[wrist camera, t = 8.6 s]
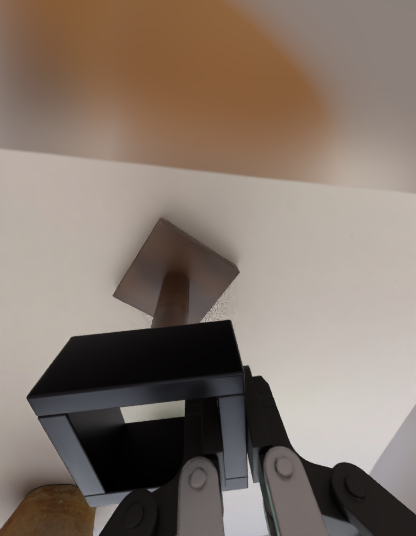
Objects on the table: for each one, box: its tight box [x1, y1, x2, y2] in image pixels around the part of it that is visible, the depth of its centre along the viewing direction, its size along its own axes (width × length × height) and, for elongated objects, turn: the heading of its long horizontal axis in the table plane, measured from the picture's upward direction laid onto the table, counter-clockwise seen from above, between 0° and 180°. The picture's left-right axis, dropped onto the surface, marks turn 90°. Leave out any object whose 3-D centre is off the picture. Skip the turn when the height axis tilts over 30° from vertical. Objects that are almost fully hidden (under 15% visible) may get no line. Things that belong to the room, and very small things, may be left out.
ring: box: [27, 320, 248, 507], centre depth 10 cm, size 7×7×3 cm
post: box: [113, 217, 240, 328], centre depth 18 cm, size 9×9×11 cm
